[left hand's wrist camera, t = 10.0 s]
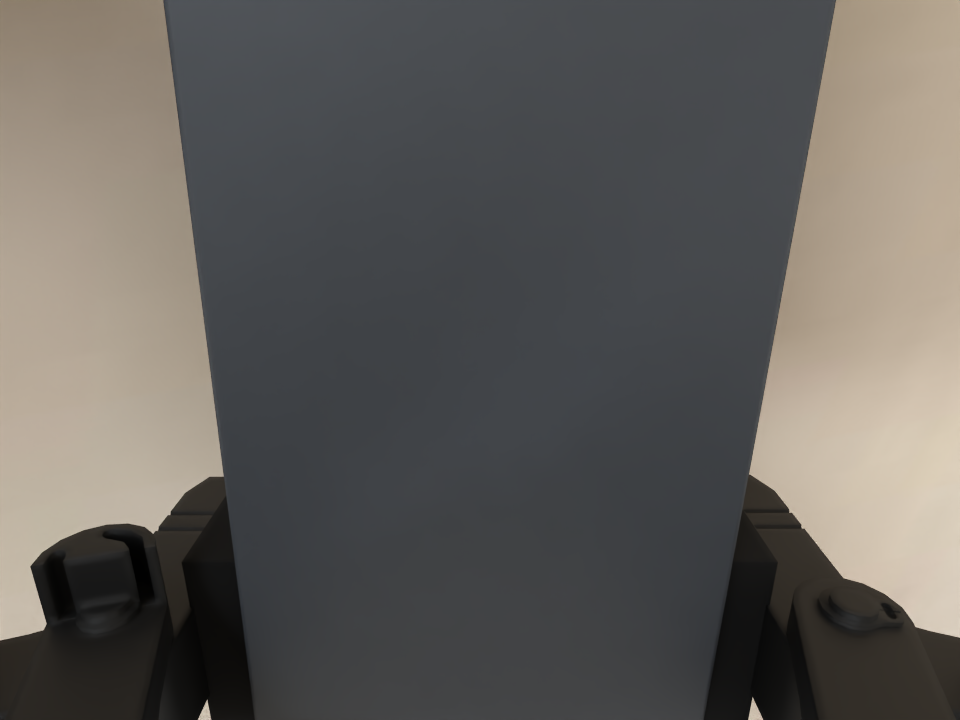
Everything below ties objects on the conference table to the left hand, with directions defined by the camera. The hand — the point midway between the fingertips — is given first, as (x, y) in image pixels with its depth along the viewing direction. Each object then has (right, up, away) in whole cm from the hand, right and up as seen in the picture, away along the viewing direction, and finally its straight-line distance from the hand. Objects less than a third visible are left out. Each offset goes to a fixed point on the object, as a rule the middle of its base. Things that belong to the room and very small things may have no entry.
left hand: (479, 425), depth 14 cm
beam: (+1, +25, -8) cm, 27 cm away
